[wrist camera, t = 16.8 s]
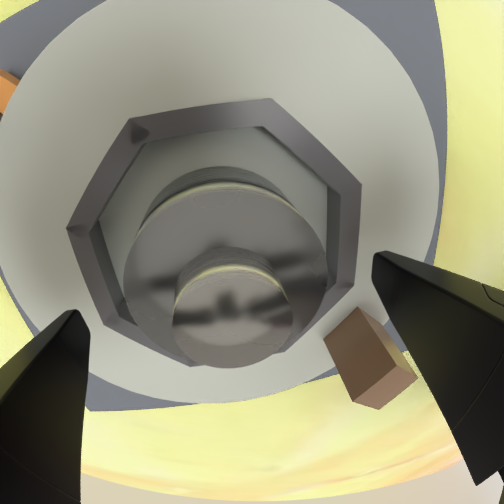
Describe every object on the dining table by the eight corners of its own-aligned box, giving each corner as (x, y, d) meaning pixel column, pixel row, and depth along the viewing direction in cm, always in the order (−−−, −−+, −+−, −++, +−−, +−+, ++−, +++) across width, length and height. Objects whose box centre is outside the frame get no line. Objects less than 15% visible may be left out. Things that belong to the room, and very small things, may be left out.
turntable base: (424, -23, 8) (497, -41, 4) (409, 346, 20) (444, 397, 15) (-49, 61, 6) (-118, 68, 2) (90, 408, 18) (80, 469, 13)
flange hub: (292, 154, 10) (352, 191, 6) (302, 295, 13) (340, 373, 9) (120, 186, 10) (73, 244, 6) (164, 321, 12) (158, 408, 9)
